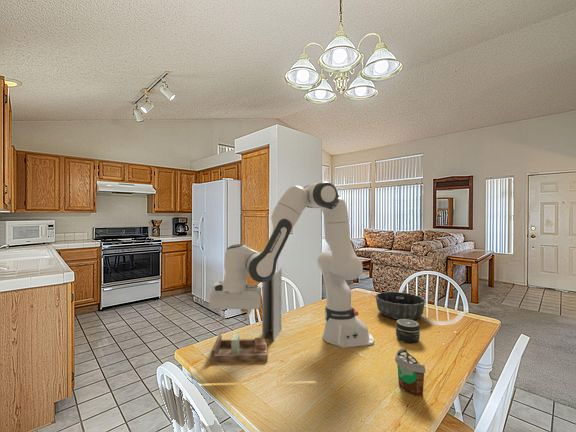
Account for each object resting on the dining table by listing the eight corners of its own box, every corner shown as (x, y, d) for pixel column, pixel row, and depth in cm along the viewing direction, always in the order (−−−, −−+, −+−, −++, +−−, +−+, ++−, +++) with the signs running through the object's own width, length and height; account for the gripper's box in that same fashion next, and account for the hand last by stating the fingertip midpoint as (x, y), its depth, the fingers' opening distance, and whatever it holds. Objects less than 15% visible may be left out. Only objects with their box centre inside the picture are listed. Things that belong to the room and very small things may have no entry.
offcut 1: (264, 342, 120) (264, 337, 120) (265, 349, 113) (265, 344, 113) (254, 343, 119) (254, 338, 119) (255, 350, 113) (255, 345, 113)
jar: (423, 339, 130) (423, 322, 130) (415, 346, 122) (415, 328, 122) (400, 333, 137) (401, 316, 136) (392, 339, 129) (392, 322, 129)
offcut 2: (266, 347, 120) (266, 342, 120) (265, 357, 112) (265, 351, 112) (255, 348, 120) (255, 342, 120) (254, 357, 112) (254, 352, 112)
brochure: (274, 342, 126) (274, 274, 126) (262, 341, 127) (262, 273, 127) (281, 329, 140) (281, 268, 140) (270, 328, 141) (270, 267, 141)
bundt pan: (383, 304, 179) (383, 288, 179) (430, 313, 164) (430, 295, 164) (368, 317, 158) (368, 298, 158) (420, 328, 142) (420, 308, 142)
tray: (268, 345, 123) (268, 334, 123) (267, 362, 109) (267, 349, 109) (218, 346, 122) (218, 335, 122) (211, 364, 108) (211, 350, 108)
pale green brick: (239, 349, 118) (239, 333, 118) (237, 356, 112) (237, 340, 112) (233, 349, 118) (233, 333, 118) (231, 356, 112) (231, 340, 112)
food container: (388, 376, 100) (388, 348, 100) (405, 376, 100) (405, 347, 100) (406, 399, 87) (406, 367, 87) (425, 398, 88) (425, 366, 88)
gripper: (261, 283, 119) (261, 316, 119) (211, 283, 118) (211, 316, 118) (261, 287, 112) (260, 322, 112) (208, 286, 111) (207, 322, 111)
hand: (234, 319), depth 115 cm, fingers open, 8 cm apart
